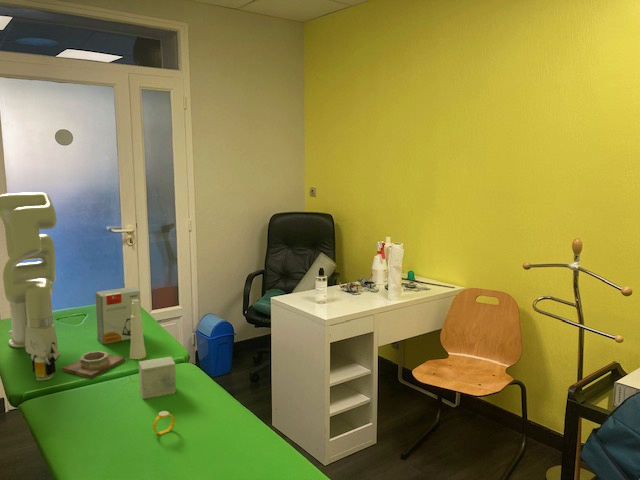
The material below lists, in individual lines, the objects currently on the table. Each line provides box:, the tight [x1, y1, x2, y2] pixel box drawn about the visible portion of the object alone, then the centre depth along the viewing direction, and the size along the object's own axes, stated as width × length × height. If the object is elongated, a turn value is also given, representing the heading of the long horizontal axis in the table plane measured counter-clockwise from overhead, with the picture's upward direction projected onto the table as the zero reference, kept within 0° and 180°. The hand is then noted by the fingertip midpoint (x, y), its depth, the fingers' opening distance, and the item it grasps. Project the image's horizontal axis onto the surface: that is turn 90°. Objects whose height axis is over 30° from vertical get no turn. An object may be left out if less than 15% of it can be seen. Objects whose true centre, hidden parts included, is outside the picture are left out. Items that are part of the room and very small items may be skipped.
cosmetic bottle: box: [129, 299, 147, 360], centre depth 195 cm, size 6×6×22 cm
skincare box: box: [138, 356, 177, 400], centre depth 169 cm, size 10×6×10 cm, turn 117°
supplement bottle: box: [34, 356, 55, 381], centre depth 178 cm, size 5×5×10 cm
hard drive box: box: [95, 286, 142, 345], centre depth 212 cm, size 16×8×20 cm, turn 129°
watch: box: [152, 410, 176, 436], centre depth 147 cm, size 6×3×6 cm, turn 133°
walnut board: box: [62, 350, 126, 379], centre depth 188 cm, size 13×16×4 cm
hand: (44, 371), depth 178 cm, fingers closed on supplement bottle, 5 cm apart
